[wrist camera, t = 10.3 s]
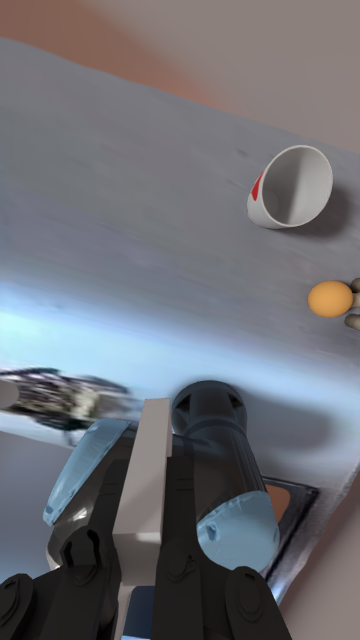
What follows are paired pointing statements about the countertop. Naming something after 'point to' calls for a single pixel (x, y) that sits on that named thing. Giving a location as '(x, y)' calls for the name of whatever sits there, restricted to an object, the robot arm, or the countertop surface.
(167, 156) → the countertop surface
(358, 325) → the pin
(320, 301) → the ball
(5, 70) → the countertop surface
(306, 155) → the cup
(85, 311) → the countertop surface
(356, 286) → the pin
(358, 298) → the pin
